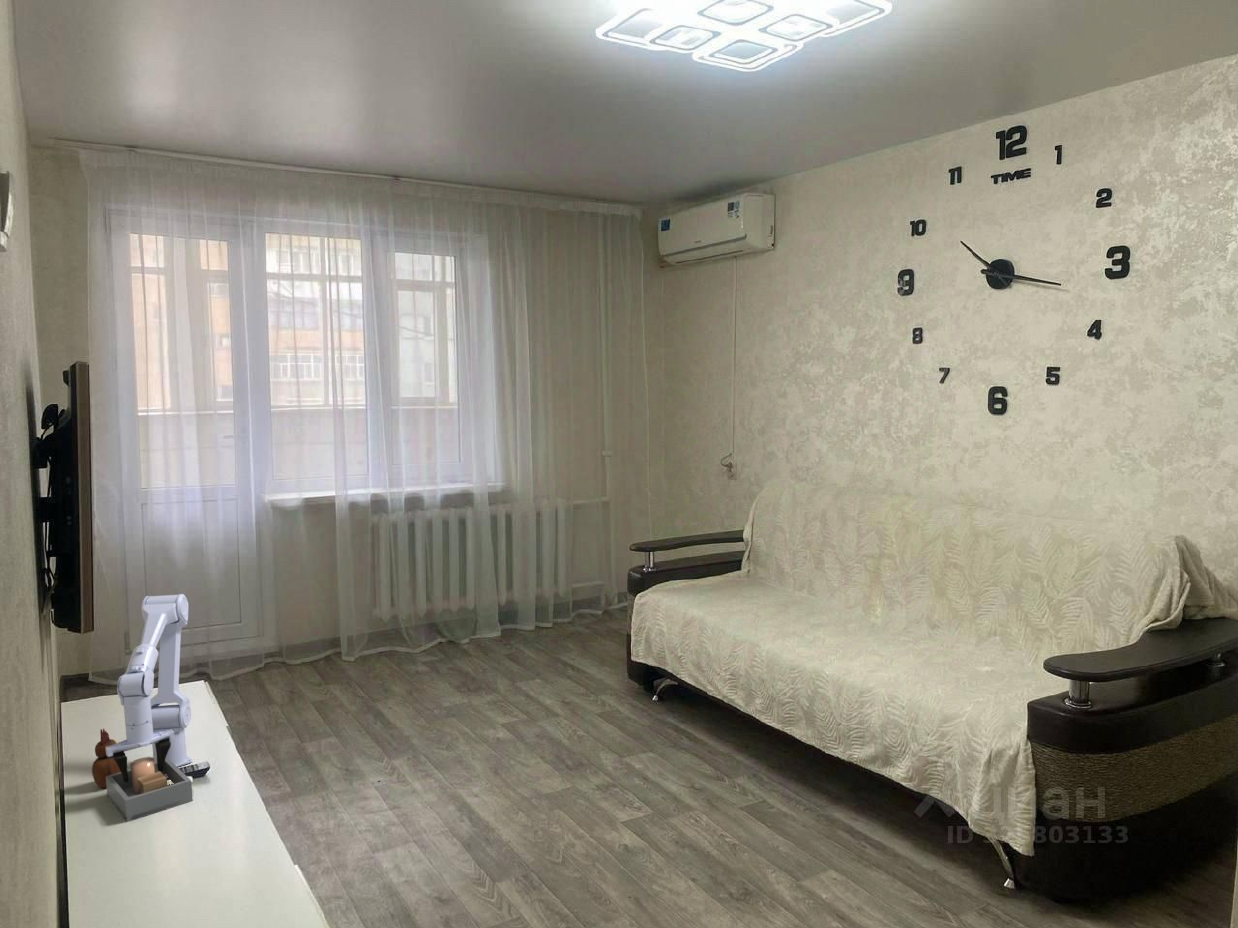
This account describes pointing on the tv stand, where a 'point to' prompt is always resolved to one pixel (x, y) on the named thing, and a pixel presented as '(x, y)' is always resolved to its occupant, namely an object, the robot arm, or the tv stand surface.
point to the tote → (149, 793)
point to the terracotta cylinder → (141, 770)
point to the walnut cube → (151, 782)
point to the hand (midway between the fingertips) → (143, 775)
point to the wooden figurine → (103, 761)
